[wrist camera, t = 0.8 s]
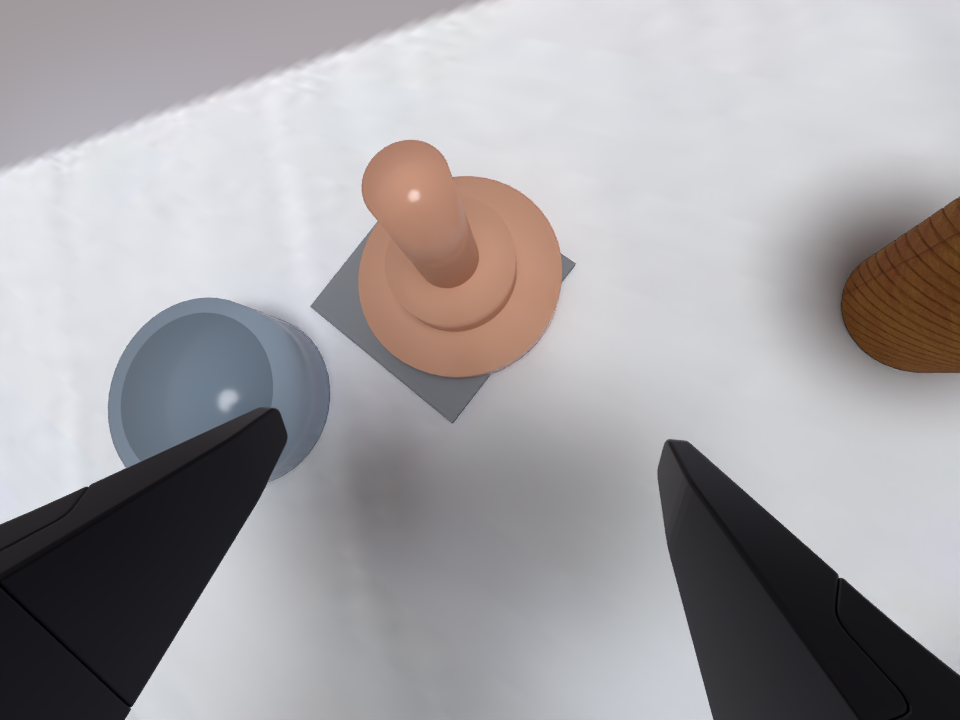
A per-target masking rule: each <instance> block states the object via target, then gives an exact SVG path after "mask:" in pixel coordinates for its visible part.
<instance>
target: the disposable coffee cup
mask: <svg viewBox="0 0 960 720" xmlns="http://www.w3.org/2000/svg"><path fill="white" fill-rule="evenodd" d="M842 314H843V318H844V321H845V324H846V327H847V329H848V331H849V332H850V334H851V336H852V338H853V339H854V340H855V341H856V343H857V344H858V345H859V346H860V347H861V348H862V349H863V350H864V351H865V352H867V353H868V354H869V355H870V356H872V357H873V358H874V359H876V360H878V361H879V362H881V363H883V364H885V365H888V366H891V367H894V368H896V369H899V370H904V371H910V372H917V373H960V197H959V198H957V199H955V200H953V201H952V202H951V203H949V204H948V205H946V206H945V207H944V208H941V209H940V210H939V211H937V212H936V213H934V214H933V215H932V216H931V217H929V218H927V219H926V220H924V221H923V222H921V223H920V224H919V225H917V226H915V227H914V228H912V229H911V230H910V231H908V232H907V233H905V234H904V235H902V236H901V237H899V238H898V239H897V240H895V241H893V242H892V243H890V244H889V245H888V246H887V247H884V248H883V249H881V250H880V251H879V252H877V253H876V254H874V255H873V256H871V257H869V258H868V259H866V260H865V261H863V262H862V263H861V264H860V265H859V266H858V267H857V268H856V269H855V270H854V271H853V273H852V274H851V275H850V277H849V278H848V280H847V282H846V285H845V287H844V290H843V297H842Z"/></svg>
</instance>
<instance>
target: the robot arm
mask: <svg viewBox="0 0 960 720" xmlns="http://www.w3.org/2000/svg"><path fill="white" fill-rule="evenodd" d="M287 439H288V434H287V430H286V427H285V425H284V422H283V419H282V416H281V413H280V411H279V410H278V409H277V408H273V407H258V408H256V409H254V410H252V411H250V412H247V413H245V414H243V415H241V416H239V417H236V418H234V419H232V420H230V421H228V422H226V423H223V424H221V425H219V426H217V427H215V428H213V429H210V430H208V431H206V432H204V433H202V434H200V435H197V436H195V437H193V438H191V439H189V440H186V441H184V442H182V443H180V444H178V445H176V446H173V447H171V448H169V449H167V450H165V451H163V452H160V453H158V454H156V455H154V456H152V457H150V458H147V459H145V460H143V461H141V462H139V463H136V464H134V465H132V466H130V467H128V468H126V469H123V470H121V471H119V472H117V473H115V474H113V475H110V476H108V477H106V478H104V479H102V480H100V481H97V482H95V483H93V484H91V485H90V486H89V487H84V488H82V489H80V490H78V491H75V492H73V493H71V494H69V495H67V496H65V497H62V498H60V499H58V500H56V501H53V502H51V503H49V504H47V505H44V506H42V507H40V508H38V509H35V510H33V511H31V512H29V513H26V514H24V515H22V516H19V517H17V518H14V519H12V520H10V521H7V522H5V523H3V524H0V720H125V718H126V717H127V715H128V714H129V712H130V710H131V708H130V707H132V706H133V705H134V703H135V702H136V700H137V698H138V697H139V695H140V693H141V692H142V690H143V688H144V687H145V685H146V684H147V682H148V680H149V679H150V677H151V675H152V674H153V672H154V670H155V669H156V667H157V666H158V664H159V662H160V661H161V659H162V657H163V656H164V654H165V653H166V651H167V649H168V648H169V646H170V644H171V643H172V641H173V639H174V638H175V636H176V635H177V633H178V631H179V630H180V628H181V626H182V625H183V623H184V621H185V620H186V618H187V617H188V615H189V613H190V612H191V610H192V608H193V607H194V605H195V603H196V602H197V600H198V599H199V597H200V595H201V594H202V592H203V590H204V589H205V587H206V585H207V584H208V582H209V581H210V579H211V577H212V576H213V574H214V572H215V571H216V569H217V567H218V566H219V564H220V563H221V561H222V559H223V558H224V556H225V554H226V553H227V551H228V549H229V548H230V546H231V545H232V543H233V541H234V540H235V538H236V536H237V535H238V533H239V531H240V530H241V528H242V527H243V525H244V523H245V522H246V520H247V518H248V517H249V515H250V514H251V512H252V510H253V509H254V507H255V505H256V504H257V502H258V500H259V498H260V496H261V495H262V493H263V491H264V489H265V487H266V485H267V483H268V480H269V478H270V476H271V474H272V472H273V470H274V468H275V466H276V464H277V462H278V460H279V458H280V456H281V454H282V452H283V449H284V447H285V445H286V443H287ZM658 484H659V491H660V498H661V505H662V512H663V519H664V526H665V533H666V539H667V545H668V550H669V554H670V558H671V562H672V566H673V569H674V573H675V577H676V581H677V584H678V588H679V592H680V596H681V599H682V603H683V607H684V611H685V615H686V618H687V622H688V626H689V630H690V633H691V637H692V641H693V645H694V648H695V652H696V656H697V660H698V663H699V667H700V671H701V675H702V679H703V682H704V686H705V690H706V694H707V697H708V701H709V705H710V709H711V712H712V716H713V720H960V675H959V674H957V673H956V672H955V671H953V670H952V669H951V668H950V667H948V666H947V665H946V664H945V663H943V662H942V661H941V660H940V659H938V658H937V657H936V656H935V655H933V654H932V653H931V652H930V651H928V650H927V649H926V648H925V647H924V646H922V645H921V644H920V643H919V642H917V641H916V640H915V639H914V638H912V637H911V636H910V635H909V634H907V633H906V632H905V631H904V630H902V629H901V628H900V627H899V626H898V625H897V624H895V623H894V622H893V621H892V620H891V619H890V618H888V617H887V616H886V615H885V614H884V613H883V612H881V611H880V610H879V609H878V608H877V607H876V606H874V605H873V604H872V603H871V602H870V601H869V600H867V599H866V598H865V597H864V596H863V595H862V594H860V593H859V592H858V591H857V590H856V589H855V588H854V587H853V586H851V585H850V584H849V583H848V582H847V581H846V580H845V579H843V578H839V576H838V574H837V573H836V572H835V571H834V570H833V569H832V568H831V567H830V566H829V565H827V564H826V563H825V562H824V561H823V560H822V559H821V558H819V557H818V556H817V555H816V554H815V553H814V552H813V551H812V550H810V549H809V548H808V547H807V546H806V545H805V544H804V543H803V542H801V541H800V540H799V539H798V538H797V537H796V536H795V535H793V534H792V533H791V532H790V531H789V530H788V529H787V528H786V527H784V526H783V525H782V524H781V523H780V522H779V521H778V520H776V519H775V518H774V517H773V516H772V515H771V514H770V513H769V512H767V511H766V510H765V509H764V508H763V507H762V506H761V505H760V504H758V503H757V502H756V501H755V500H754V499H753V498H752V497H750V496H749V495H748V494H747V493H746V492H745V491H744V490H743V489H741V488H740V487H739V486H738V485H737V484H736V483H735V482H733V481H732V480H731V479H730V478H729V477H728V476H727V475H726V474H724V473H723V472H722V471H721V470H720V469H719V468H718V467H717V466H715V465H714V464H713V463H712V462H711V461H710V460H709V459H707V458H706V457H705V456H704V455H703V454H702V453H701V452H700V451H698V450H697V449H696V448H695V447H694V446H693V445H692V444H690V443H689V442H688V441H684V440H673V439H669V440H667V441H666V442H665V443H664V446H663V450H662V454H661V458H660V462H659V465H658Z"/></svg>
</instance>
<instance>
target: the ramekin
mask: <svg viewBox="0 0 960 720" xmlns="http://www.w3.org/2000/svg"><path fill="white" fill-rule="evenodd" d="M329 400H330V386H329V378H328V374H327V370H326V366H325V363H324V361H323V358H322V356H321V354H320V353H319V351H318V349H317V347H316V346H315V345H314V343H313V342H312V341H311V340H310V339H309V338H308V337H307V336H306V335H305V334H304V333H303V332H302V331H301V330H299V329H298V328H297V327H295V326H293V325H291V324H289V323H287V322H285V321H282V320H280V319H277V318H275V317H272V316H269V315H267V314H264V313H262V312H259V311H256V310H254V309H251V308H248V307H246V306H243V305H241V304H238V303H235V302H232V301H229V300H225V299H219V298H198V299H192V300H188V301H184V302H181V303H178V304H176V305H173V306H171V307H169V308H167V309H166V310H164V311H162V312H160V313H159V314H158V315H156V316H155V317H153V318H152V319H151V320H150V321H148V322H147V323H146V324H145V325H144V326H143V327H142V328H141V329H140V330H139V331H138V332H137V334H136V335H135V336H134V337H133V338H132V340H131V341H130V343H129V344H128V345H127V347H126V349H125V350H124V352H123V354H122V356H121V358H120V360H119V362H118V364H117V367H116V369H115V372H114V375H113V379H112V382H111V387H110V392H109V401H108V421H109V427H110V433H111V437H112V440H113V444H114V446H115V449H116V451H117V453H118V456H119V457H120V459H121V461H122V462H123V464H124V466H125V467H126V468H128V467H130V466H132V465H134V464H136V463H139V462H141V461H143V460H145V459H147V458H150V457H152V456H154V455H156V454H158V453H160V452H163V451H165V450H167V449H169V448H171V447H173V446H176V445H178V444H180V443H182V442H184V441H186V440H189V439H191V438H193V437H195V436H197V435H200V434H202V433H204V432H206V431H208V430H210V429H213V428H215V427H217V426H219V425H221V424H223V423H226V422H228V421H230V420H232V419H234V418H236V417H239V416H241V415H243V414H245V413H247V412H250V411H252V410H254V409H256V408H258V407H273V408H277V409H278V410H279V411H280V413H281V416H282V419H283V422H284V425H285V427H286V430H287V434H288V439H287V443H286V445H285V447H284V449H283V452H282V454H281V456H280V458H279V460H278V462H277V464H276V466H275V468H274V470H273V472H272V474H271V476H270V478H269V480H268V482H269V481H272V480H275V479H277V478H279V477H281V476H283V475H285V474H286V473H288V472H289V471H290V470H292V469H293V468H294V467H296V466H297V465H298V464H299V463H300V462H301V461H302V460H303V459H304V458H305V457H306V456H307V455H308V453H309V452H310V451H311V449H312V448H313V446H314V445H315V444H316V442H317V440H318V438H319V436H320V434H321V432H322V429H323V427H324V424H325V421H326V417H327V413H328V408H329Z"/></svg>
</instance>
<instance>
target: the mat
mask: <svg viewBox="0 0 960 720" xmlns="http://www.w3.org/2000/svg"><path fill="white" fill-rule="evenodd" d="M377 223H378V222H377ZM377 223H376V224H377ZM376 224H375V226H376ZM375 226H374V227H375ZM374 227H373V228H374ZM373 228H372V229H371V231H370V232H369V233H368V234H367V236H366V237H365V238H364V239H363V241H362V242H361V243H360V244H359V246H358V247H357V248H356V249H355V251H354V252H353V253H352V255H351V256H350V257H349V258H348V260H347V261H346V262H345V263H344V265H343V266H342V267H341V268H340V270H339V271H338V272H337V273H336V275H335V276H334V277H333V278H332V280H331V281H330V282H329V284H328V285H327V286H326V287H325V289H324V290H323V291H322V292H321V294H320V295H319V296H318V297H317V299H316V300H315V301H314V302H313V304H312V305H311V306H310V307H312V308H313V309H314V310H315V311H316V312H318V313H319V314H320V315H321V316H322V317H324V318H325V319H326V320H327V321H329V322H330V323H331V324H332V325H333V326H335V327H336V328H337V329H338V330H339V331H341V332H342V333H343V334H344V335H346V336H347V337H348V338H349V339H350V340H352V341H353V342H354V343H355V344H357V345H358V346H359V347H360V348H361V349H363V350H364V351H365V352H366V353H367V354H369V355H370V356H371V357H372V358H374V359H375V360H376V361H377V362H378V363H380V364H381V365H382V366H383V367H384V368H386V369H387V370H388V371H389V372H391V373H392V374H393V375H394V376H395V377H397V378H398V379H399V380H400V381H402V382H403V383H404V384H405V385H406V386H408V387H409V388H410V389H411V390H412V391H414V392H415V393H416V394H417V395H419V396H420V397H421V398H422V399H423V400H425V401H426V402H427V403H428V404H429V405H431V406H432V407H433V408H434V409H436V410H437V411H438V412H439V413H440V414H442V415H443V416H444V417H445V418H447V419H448V420H449V421H450V422H451V423H453V422H454V421H455V420H456V418H457V417H458V416H459V414H460V413H461V412H462V411H463V409H464V408H465V407H466V405H467V404H468V403H469V402H470V400H471V399H472V398H473V396H474V395H475V394H476V393H477V391H478V390H479V389H480V387H481V386H482V385H483V383H484V382H485V381H486V380H487V378H488V377H489V376H490V374H488V375H484V376H479V377H474V378H463V379H457V378H445V377H440V376H435V375H432V374H429V373H426V372H424V371H421V370H419V369H416V368H414V367H412V366H410V365H408V364H406V363H404V362H402V361H401V360H400V359H398V358H397V357H395V356H394V355H392V354H391V353H390V352H389V351H388V350H387V349H386V348H385V347H384V346H383V345H382V344H381V343H380V341H379V340H378V339H377V338H376V336H375V335H374V333H373V332H372V330H371V328H370V327H369V325H368V323H367V320H366V318H365V316H364V314H363V310H362V306H361V303H360V297H359V290H358V275H359V267H360V261H361V257H362V253H363V250H364V247H365V245H366V242H367V240H368V238H369V236H370V234H371V232H372V230H373ZM561 261H562V281H561V283H562V282H563V280H564V279H565V278H566V276H567V275H568V274H569V273H570V271H571V270H572V269H573V267H574V266H575V263H574V262H573V261H571V260H570V259H568V258H567V257H565V256H564V255H562V254H561Z"/></svg>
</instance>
